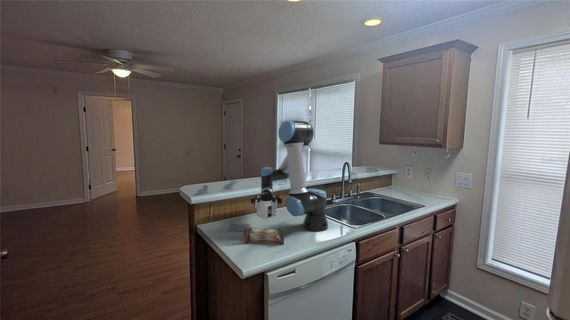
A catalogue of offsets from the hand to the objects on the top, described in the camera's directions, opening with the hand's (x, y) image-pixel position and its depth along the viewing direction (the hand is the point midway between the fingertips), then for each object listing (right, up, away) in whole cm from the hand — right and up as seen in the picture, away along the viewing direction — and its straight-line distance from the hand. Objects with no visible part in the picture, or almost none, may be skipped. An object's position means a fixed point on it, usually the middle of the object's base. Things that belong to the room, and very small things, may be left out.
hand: (266, 205), depth 144 cm
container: (0, -7, +5) cm, 9 cm away
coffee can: (+35, -12, +53) cm, 65 cm away
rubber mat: (-17, -16, +14) cm, 27 cm away
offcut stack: (-1, -17, -3) cm, 17 cm away
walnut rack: (-1, -18, +2) cm, 18 cm away
